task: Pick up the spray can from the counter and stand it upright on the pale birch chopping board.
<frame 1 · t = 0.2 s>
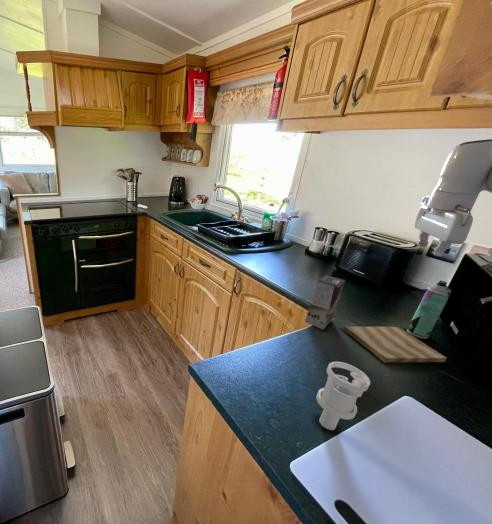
hand: (428, 250, 84), 31 cm above the countertop, tool pointing down, fingers open, 8 cm apart
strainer: (327, 424, 62), on the countertop
spray can: (416, 334, 99), on the countertop
coffee box: (317, 322, 102), on the countertop
chopping board: (390, 344, 92), on the countertop
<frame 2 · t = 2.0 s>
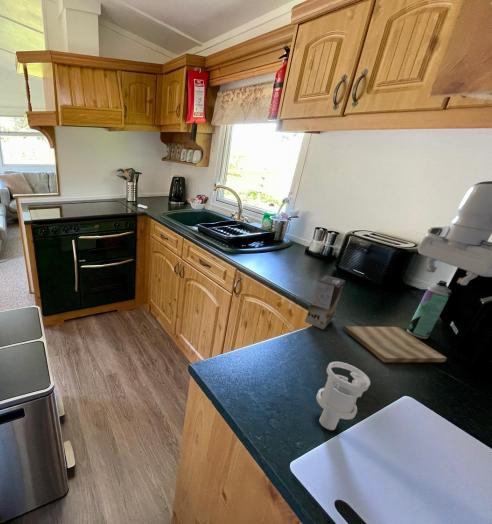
hand: (444, 277, 91), 21 cm above the countertop, tool pointing down, fingers open, 8 cm apart
nothing on the countertop moved.
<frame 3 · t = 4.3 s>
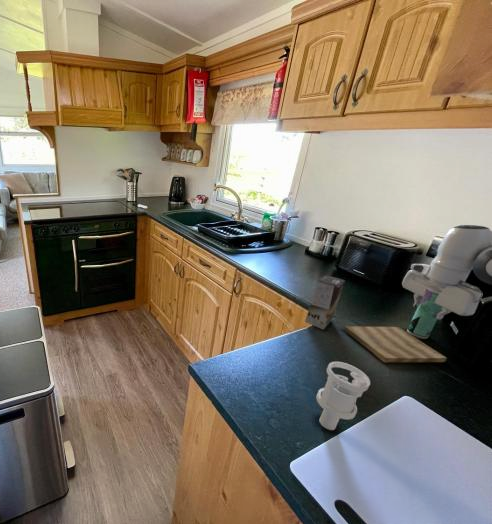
hand: (426, 312, 96), 9 cm above the countertop, tool pointing down, fingers closed on spray can, 5 cm apart
spray can: (416, 334, 99), on the countertop, touching arm, gripper
everything else where it was.
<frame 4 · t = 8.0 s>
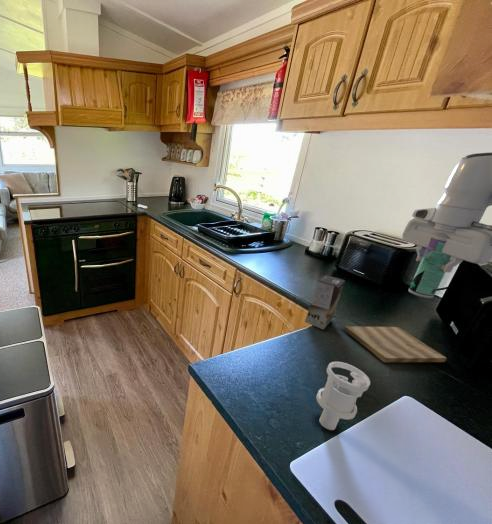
hand: (431, 266, 80), 28 cm above the countertop, tool pointing down, fingers closed on spray can, 5 cm apart
spray can: (420, 294, 84), point 19 cm above the countertop, touching arm, gripper
everything else where it was.
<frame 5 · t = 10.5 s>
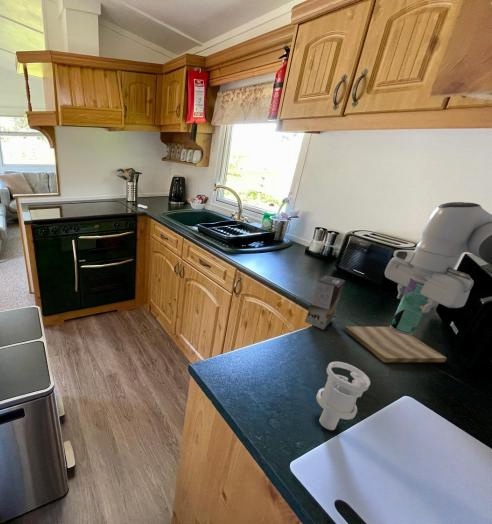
hand: (411, 305, 84), 16 cm above the countertop, tool pointing down, fingers closed on spray can, 5 cm apart
spray can: (401, 330, 87), point 7 cm above the countertop, touching arm, gripper
everything else where it was.
when the fingers open (10 cm above the countertop, at t = 12.3 s): spray can stays where it is, resting on chopping board.
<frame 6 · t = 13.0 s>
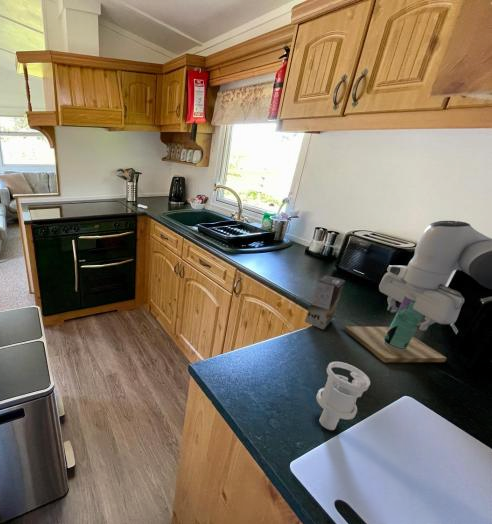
hand: (405, 319, 86), 11 cm above the countertop, tool pointing down, fingers open, 8 cm apart
spray can: (394, 345, 89), point 1 cm above the countertop, touching chopping board
everything else where it was.
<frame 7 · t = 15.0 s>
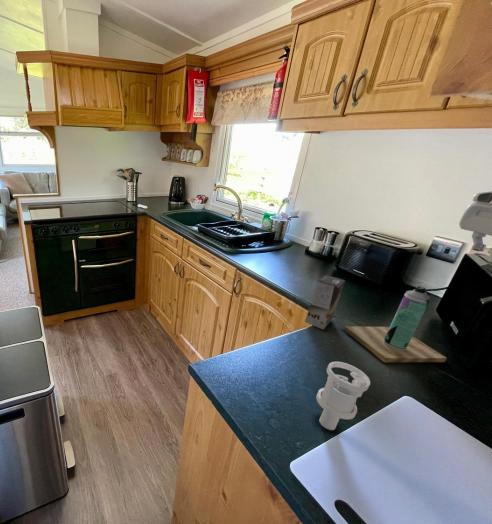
nothing on the countertop moved.
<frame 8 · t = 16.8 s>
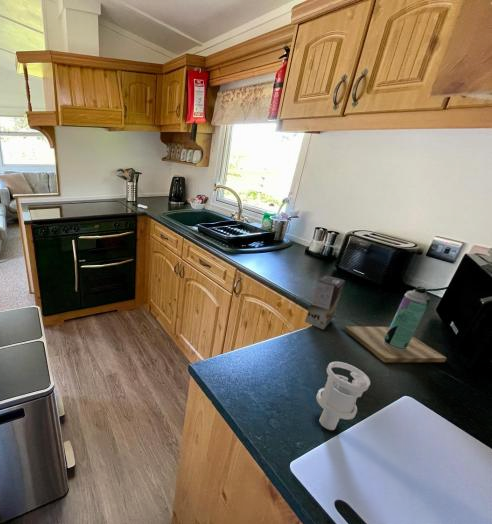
nothing on the countertop moved.
at the end: spray can inside the target area on the chopping board (2.6 cm from its centre), point 1.3 cm above the chopping board's base; spray can tilted 0°; the gripper is holding nothing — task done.
